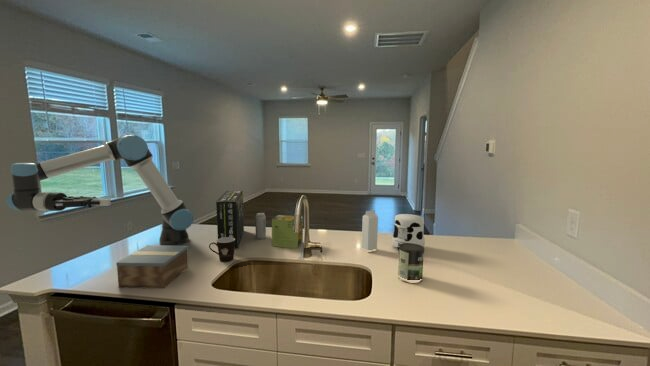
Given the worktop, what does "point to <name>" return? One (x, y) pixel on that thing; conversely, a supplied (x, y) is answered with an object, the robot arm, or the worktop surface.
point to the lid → (152, 255)
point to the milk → (369, 230)
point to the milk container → (408, 230)
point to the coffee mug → (225, 248)
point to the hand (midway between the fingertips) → (109, 202)
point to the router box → (230, 216)
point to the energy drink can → (260, 225)
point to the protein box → (286, 232)
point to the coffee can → (411, 261)
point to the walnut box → (152, 274)
